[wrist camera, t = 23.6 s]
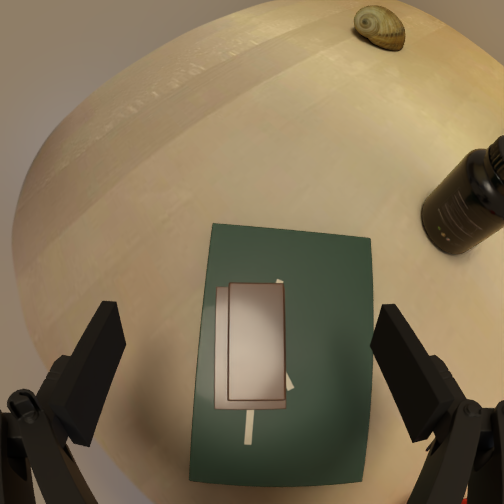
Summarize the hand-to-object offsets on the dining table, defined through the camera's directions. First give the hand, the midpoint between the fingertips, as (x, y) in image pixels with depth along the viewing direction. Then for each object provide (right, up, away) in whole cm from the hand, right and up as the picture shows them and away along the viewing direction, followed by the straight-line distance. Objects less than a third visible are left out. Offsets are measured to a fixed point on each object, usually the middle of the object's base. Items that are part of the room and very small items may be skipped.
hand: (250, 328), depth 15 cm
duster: (0, -3, +7) cm, 8 cm away
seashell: (+20, +37, +24) cm, 49 cm away
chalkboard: (+3, -4, +8) cm, 9 cm away
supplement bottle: (+20, +6, +13) cm, 24 cm away
